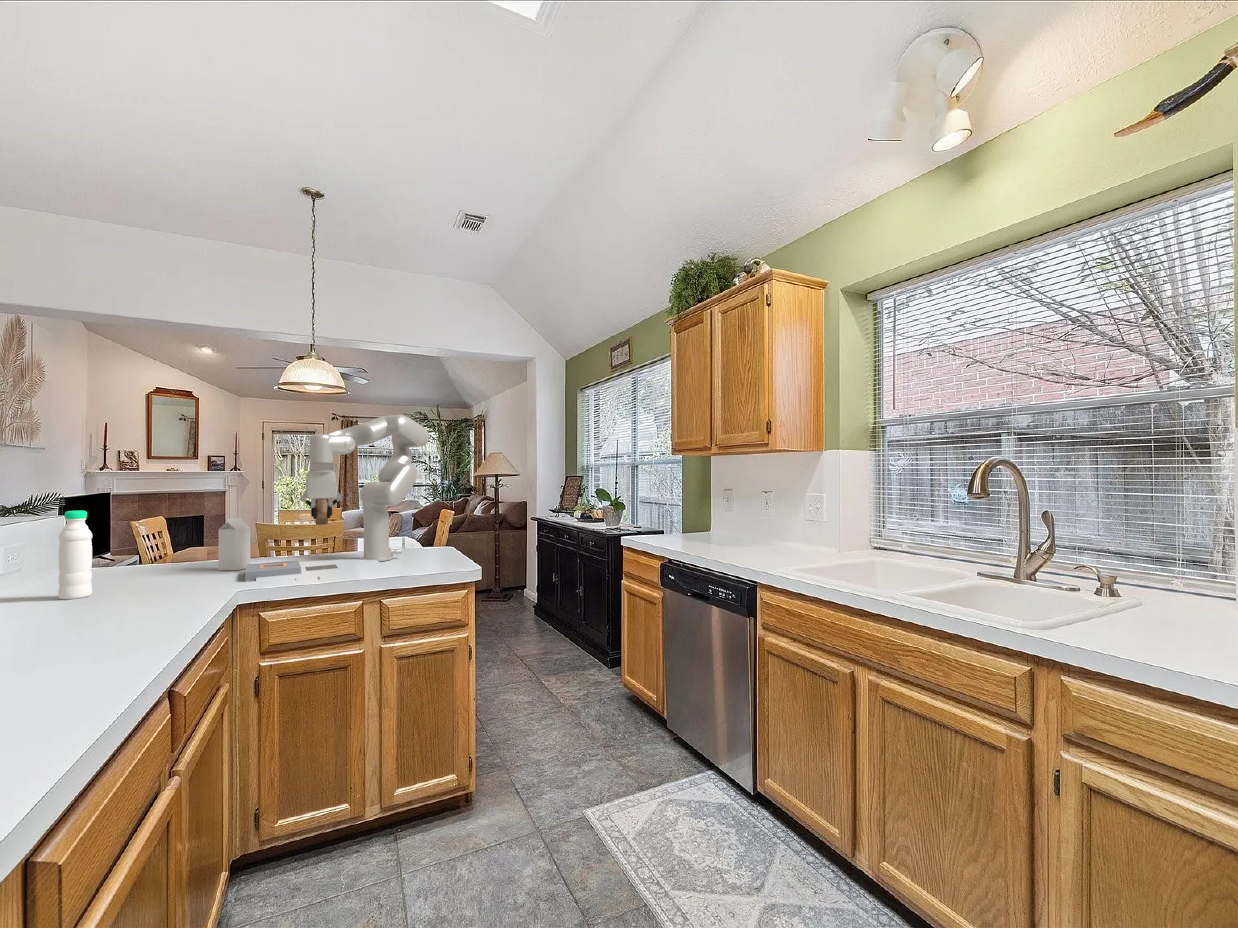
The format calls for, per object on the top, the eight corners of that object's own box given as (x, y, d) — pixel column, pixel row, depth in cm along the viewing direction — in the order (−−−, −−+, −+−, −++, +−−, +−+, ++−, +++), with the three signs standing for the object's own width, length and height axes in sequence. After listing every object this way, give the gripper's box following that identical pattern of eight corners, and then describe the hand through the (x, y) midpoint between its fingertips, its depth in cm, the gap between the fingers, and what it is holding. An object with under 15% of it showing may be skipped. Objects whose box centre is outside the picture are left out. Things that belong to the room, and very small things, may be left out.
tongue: (335, 567, 214) (335, 564, 214) (338, 570, 205) (338, 567, 205) (305, 569, 208) (305, 567, 208) (306, 573, 200) (306, 570, 200)
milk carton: (250, 567, 215) (250, 517, 215) (236, 570, 208) (236, 518, 208) (233, 567, 216) (233, 517, 216) (218, 570, 209) (218, 518, 209)
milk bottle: (97, 595, 166) (98, 510, 167) (68, 600, 160) (68, 511, 160) (82, 594, 169) (82, 509, 169) (52, 599, 162) (52, 511, 162)
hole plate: (298, 568, 212) (298, 559, 212) (301, 576, 195) (301, 566, 195) (246, 572, 203) (246, 563, 203) (245, 581, 186) (245, 571, 186)
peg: (327, 523, 210) (327, 499, 210) (328, 524, 207) (328, 499, 207) (315, 524, 208) (314, 499, 208) (316, 524, 204) (315, 499, 205)
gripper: (345, 467, 215) (345, 516, 215) (294, 468, 206) (294, 518, 206) (347, 467, 209) (348, 517, 208) (295, 468, 200) (295, 520, 200)
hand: (321, 517), depth 207 cm, fingers closed on peg, 4 cm apart
